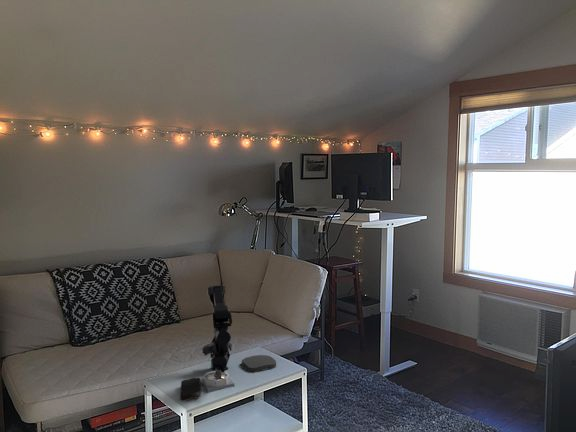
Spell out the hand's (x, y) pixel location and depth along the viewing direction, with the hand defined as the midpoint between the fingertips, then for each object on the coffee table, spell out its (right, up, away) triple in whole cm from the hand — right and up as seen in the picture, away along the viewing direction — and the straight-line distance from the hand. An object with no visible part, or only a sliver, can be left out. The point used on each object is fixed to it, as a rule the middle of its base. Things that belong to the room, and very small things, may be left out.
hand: (223, 372), depth 220 cm
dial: (-3, -4, +1) cm, 5 cm away
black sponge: (-13, -7, -7) cm, 16 cm away
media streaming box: (+14, -4, +22) cm, 27 cm away
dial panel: (-3, -6, +1) cm, 6 cm away
